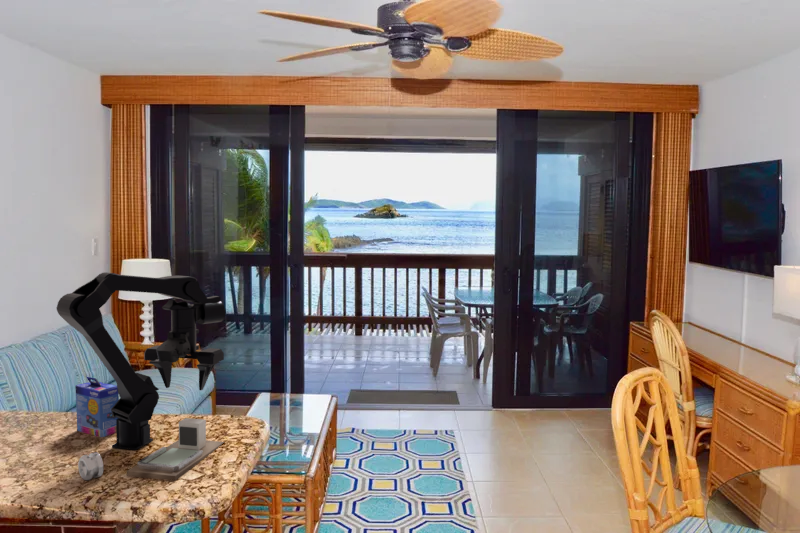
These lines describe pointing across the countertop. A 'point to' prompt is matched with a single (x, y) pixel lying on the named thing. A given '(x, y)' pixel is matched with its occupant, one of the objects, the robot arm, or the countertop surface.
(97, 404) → the ink cartridge box
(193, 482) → the countertop surface
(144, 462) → the rail guides
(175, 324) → the robot arm
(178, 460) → the rail board
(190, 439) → the block
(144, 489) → the countertop surface
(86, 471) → the metal grooved wheel
